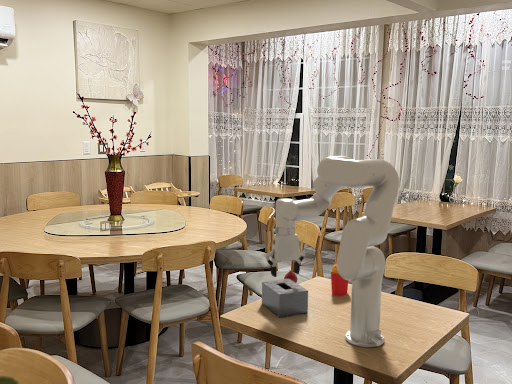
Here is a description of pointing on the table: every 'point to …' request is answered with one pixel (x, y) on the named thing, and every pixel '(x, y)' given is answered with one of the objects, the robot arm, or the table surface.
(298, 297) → the grey slotted box
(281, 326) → the table surface
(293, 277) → the onion
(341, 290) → the french fries
